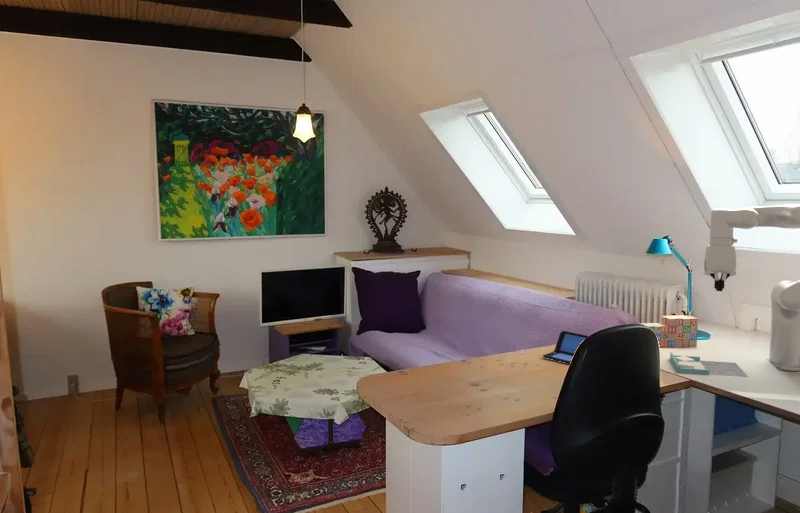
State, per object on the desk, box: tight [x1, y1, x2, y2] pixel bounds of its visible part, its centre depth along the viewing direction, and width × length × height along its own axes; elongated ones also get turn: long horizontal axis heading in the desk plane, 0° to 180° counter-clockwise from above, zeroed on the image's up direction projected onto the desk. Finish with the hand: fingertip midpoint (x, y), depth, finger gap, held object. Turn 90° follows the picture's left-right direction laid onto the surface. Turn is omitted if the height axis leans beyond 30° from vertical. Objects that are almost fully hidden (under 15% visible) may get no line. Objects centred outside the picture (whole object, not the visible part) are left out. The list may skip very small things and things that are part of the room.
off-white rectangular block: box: [679, 361, 695, 369], centre depth 209 cm, size 5×4×3 cm
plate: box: [699, 360, 749, 378], centre depth 208 cm, size 12×17×2 cm
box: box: [669, 352, 710, 376], centre depth 211 cm, size 10×17×4 cm, turn 163°
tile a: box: [675, 355, 695, 364], centre depth 215 cm, size 5×4×3 cm
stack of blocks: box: [640, 314, 699, 349], centre depth 244 cm, size 21×6×12 cm, turn 92°
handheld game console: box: [542, 330, 589, 365], centre depth 228 cm, size 16×13×9 cm
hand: (719, 290), depth 219 cm, fingers closed
